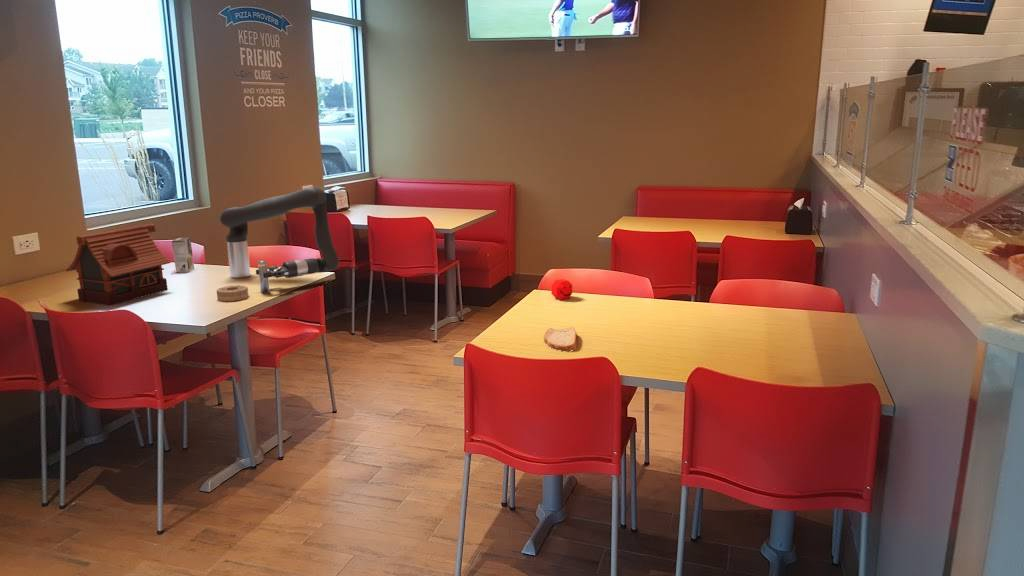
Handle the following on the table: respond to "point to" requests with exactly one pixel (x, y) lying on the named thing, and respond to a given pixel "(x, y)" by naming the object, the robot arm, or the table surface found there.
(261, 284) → the grey tall cylinder
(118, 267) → the house
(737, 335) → the table surface
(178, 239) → the coffee box
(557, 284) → the ball
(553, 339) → the bread slice
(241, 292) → the bead
